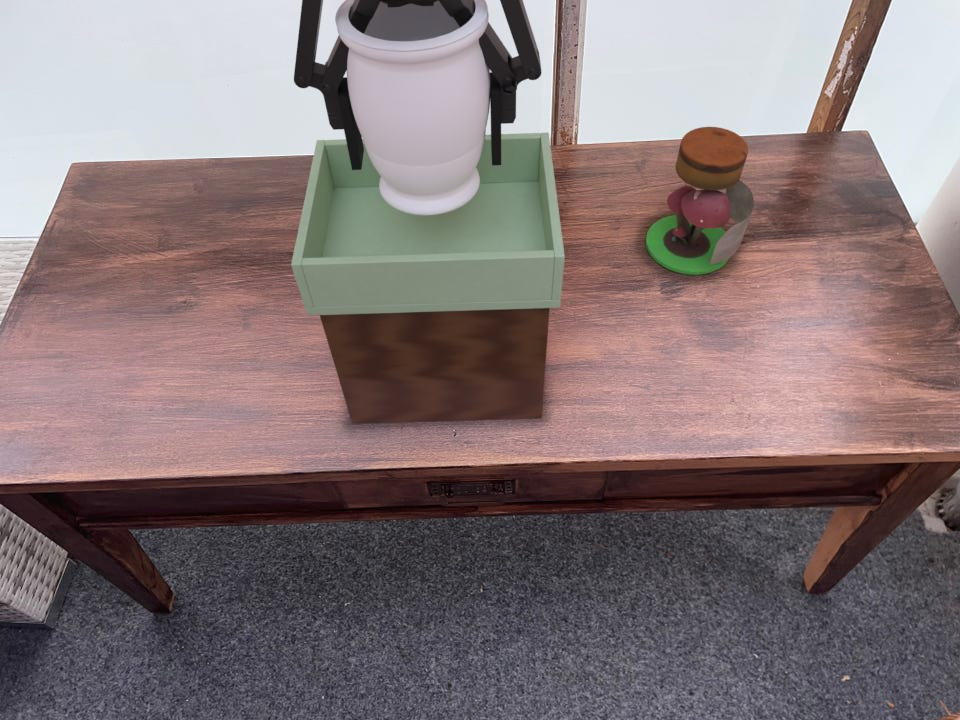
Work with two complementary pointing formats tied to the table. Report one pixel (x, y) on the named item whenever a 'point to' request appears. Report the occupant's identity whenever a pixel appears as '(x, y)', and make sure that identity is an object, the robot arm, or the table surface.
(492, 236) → the tray
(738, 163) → the toy figurine
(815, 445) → the table surface
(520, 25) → the robot arm
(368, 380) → the stand
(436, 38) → the jar
